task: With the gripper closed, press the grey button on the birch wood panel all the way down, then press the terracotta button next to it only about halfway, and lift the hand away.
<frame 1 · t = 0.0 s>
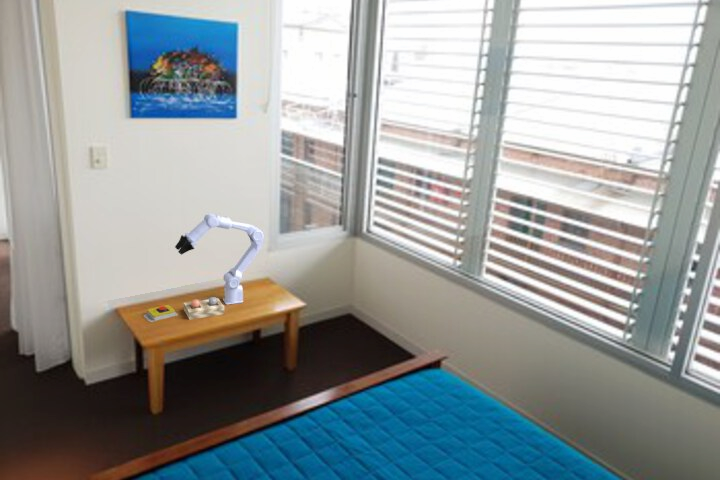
hand: (177, 250, 286), 32 cm above the table, tool tilted 50°, fingers open, 7 cm apart
emergency button: (160, 316, 288), on the table
grey button: (212, 301, 295), point 5 cm above the table, slide at 0.0 cm
terracotta button: (195, 304, 291), point 5 cm above the table, slide at 0.0 cm
button panel: (204, 311, 294), on the table
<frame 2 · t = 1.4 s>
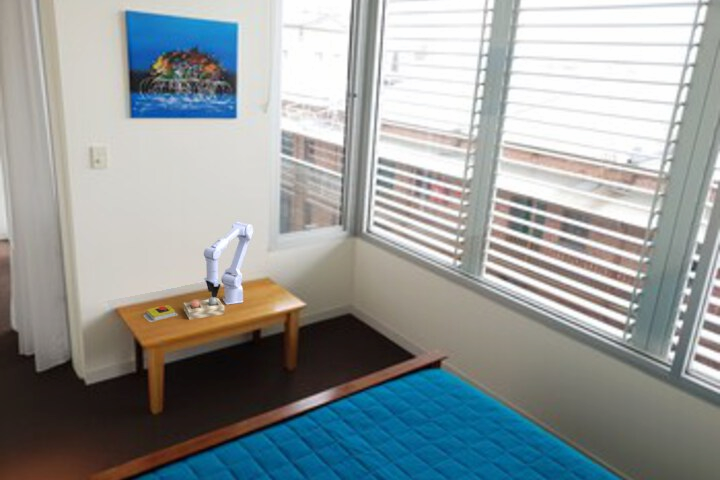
hand: (212, 294, 294), 9 cm above the table, tool pointing down, fingers open, 7 cm apart
nothing on the table moved.
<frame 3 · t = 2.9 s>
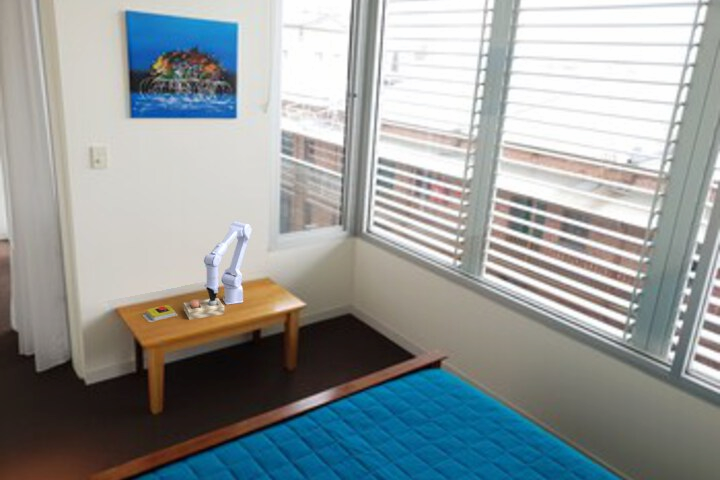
hand: (212, 300, 295), 6 cm above the table, tool pointing down, fingers closed, pressing on grey button
grey button: (212, 303, 295), point 4 cm above the table, slide at 1.2 cm, touching gripper
everything else where it was.
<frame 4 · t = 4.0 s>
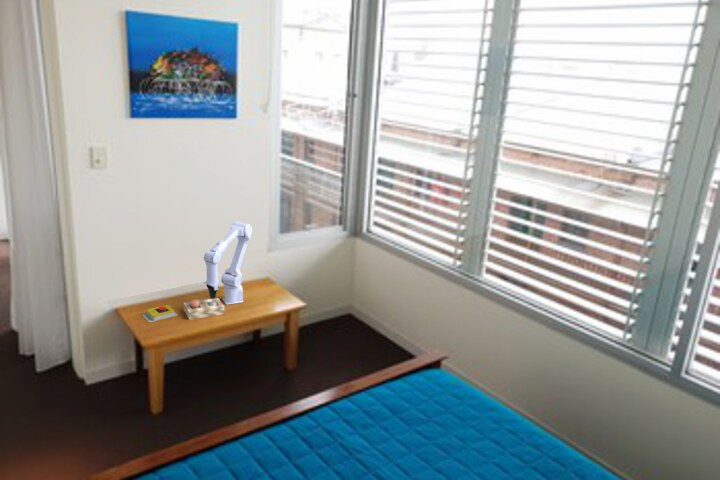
hand: (212, 297, 294), 7 cm above the table, tool pointing down, fingers closed
grey button: (212, 306, 296), point 2 cm above the table, slide at 2.6 cm
everything else where it was.
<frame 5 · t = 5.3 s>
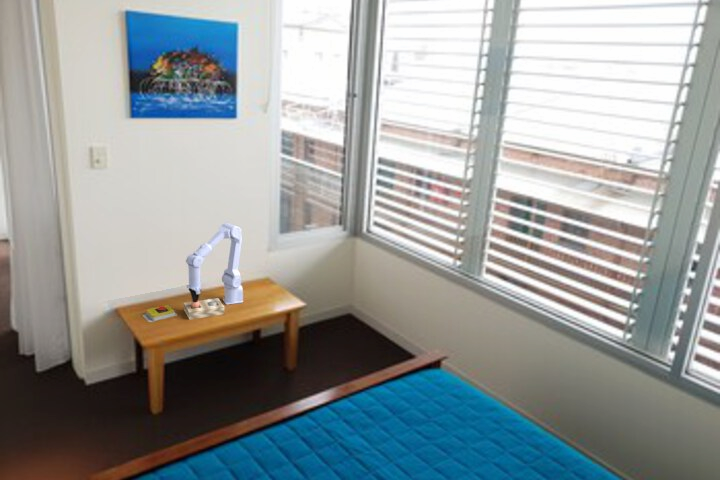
hand: (195, 301, 290), 7 cm above the table, tool pointing down, fingers closed, pressing on terracotta button
terracotta button: (195, 305, 291), point 5 cm above the table, slide at 0.4 cm, touching gripper
everything else where it was.
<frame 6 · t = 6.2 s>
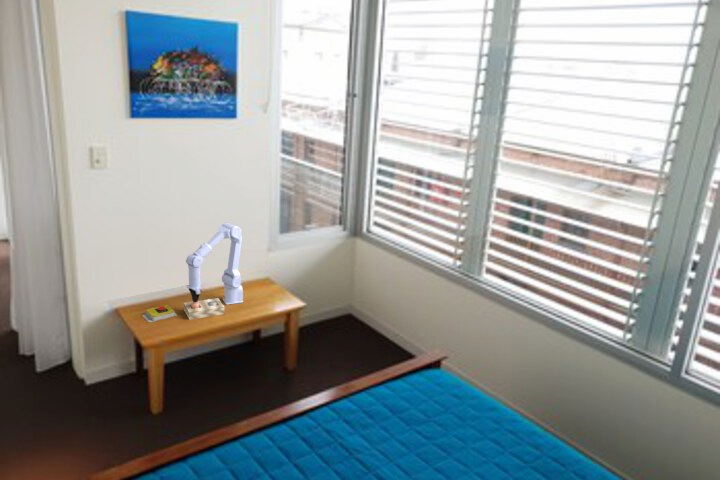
hand: (195, 301, 290), 7 cm above the table, tool pointing down, fingers closed
terracotta button: (195, 306, 291), point 4 cm above the table, slide at 1.2 cm
everything else where it was.
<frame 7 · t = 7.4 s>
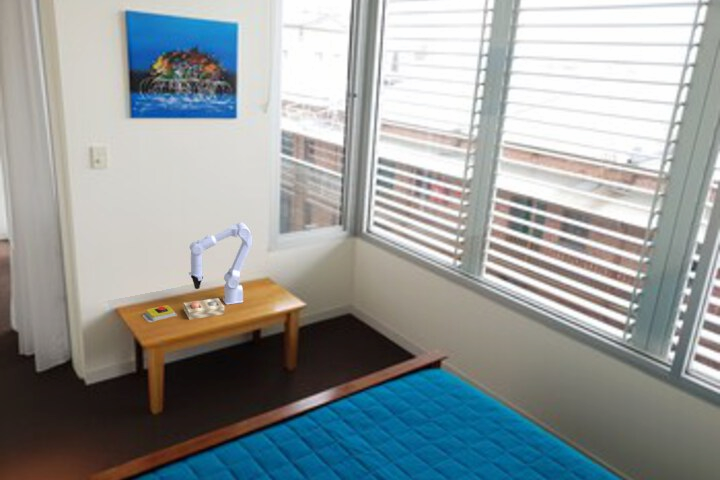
hand: (197, 288, 299), 9 cm above the table, tool pointing down, fingers closed
nothing on the table moved.
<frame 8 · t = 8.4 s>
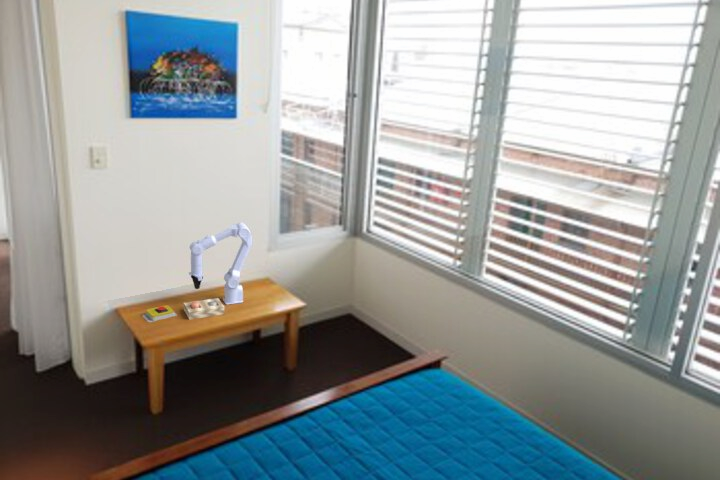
hand: (197, 288, 299), 9 cm above the table, tool pointing down, fingers closed
nothing on the table moved.
at the end: grey button slide at 2.6 cm; terracotta button slide at 1.2 cm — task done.
